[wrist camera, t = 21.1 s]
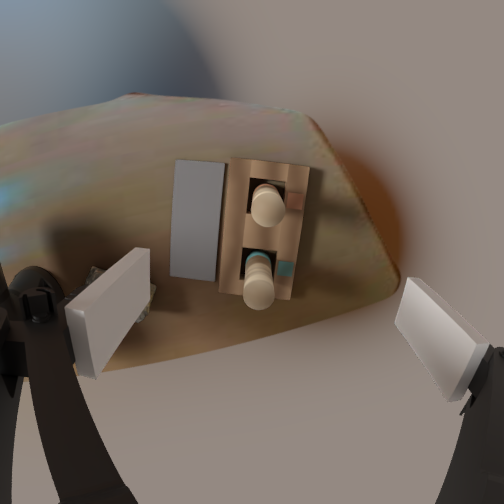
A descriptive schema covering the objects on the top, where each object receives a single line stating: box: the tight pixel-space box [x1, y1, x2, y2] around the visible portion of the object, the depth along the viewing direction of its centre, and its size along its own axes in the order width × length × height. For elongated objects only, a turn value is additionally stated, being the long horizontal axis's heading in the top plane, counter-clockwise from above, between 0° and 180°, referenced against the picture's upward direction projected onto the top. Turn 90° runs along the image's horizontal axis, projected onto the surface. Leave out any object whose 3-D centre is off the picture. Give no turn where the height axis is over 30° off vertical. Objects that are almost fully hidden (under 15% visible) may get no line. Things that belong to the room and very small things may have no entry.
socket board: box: [219, 158, 310, 300], centre depth 50 cm, size 12×22×3 cm, turn 174°
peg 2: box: [243, 249, 275, 310], centre depth 47 cm, size 4×4×14 cm
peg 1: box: [251, 183, 285, 227], centre depth 43 cm, size 4×4×14 cm
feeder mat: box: [170, 160, 225, 282], centre depth 51 cm, size 8×20×1 cm, turn 174°
